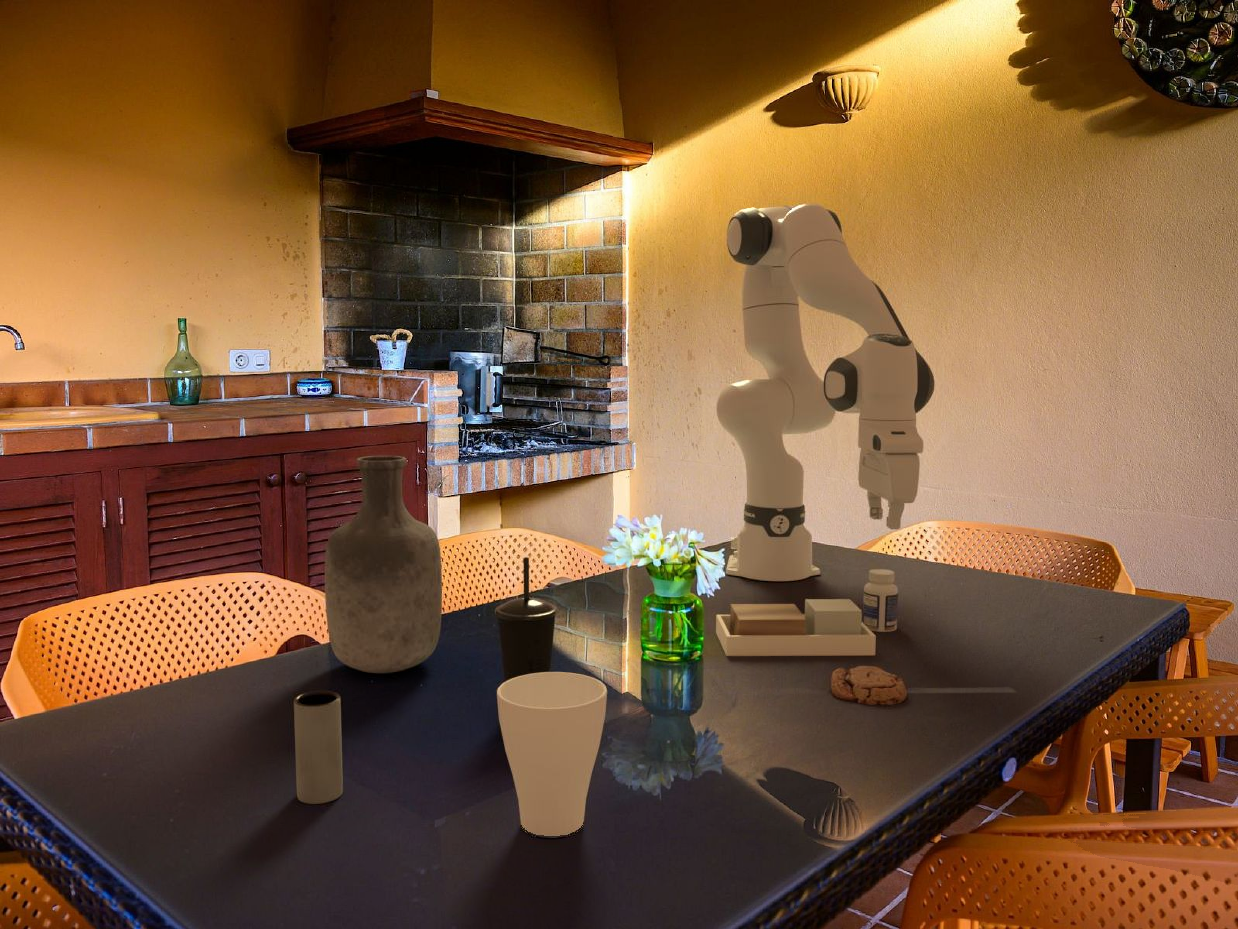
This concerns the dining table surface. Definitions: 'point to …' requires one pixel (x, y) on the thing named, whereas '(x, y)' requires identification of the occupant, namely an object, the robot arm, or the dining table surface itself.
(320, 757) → the planter
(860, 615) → the pale green block
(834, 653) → the box
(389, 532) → the vase
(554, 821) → the cup
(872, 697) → the cookie
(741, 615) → the walnut block
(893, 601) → the pill bottle
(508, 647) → the drinking cup
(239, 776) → the dining table surface
